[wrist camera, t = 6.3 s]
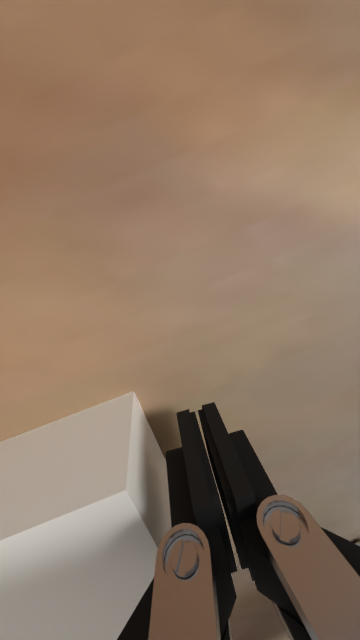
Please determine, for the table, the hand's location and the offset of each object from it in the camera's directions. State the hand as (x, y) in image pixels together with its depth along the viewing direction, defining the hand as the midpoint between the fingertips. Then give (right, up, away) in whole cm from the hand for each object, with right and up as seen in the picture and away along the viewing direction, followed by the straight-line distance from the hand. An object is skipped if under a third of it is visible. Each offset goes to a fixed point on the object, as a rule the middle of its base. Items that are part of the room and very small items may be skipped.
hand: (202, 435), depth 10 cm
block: (-7, -3, +2) cm, 8 cm away
